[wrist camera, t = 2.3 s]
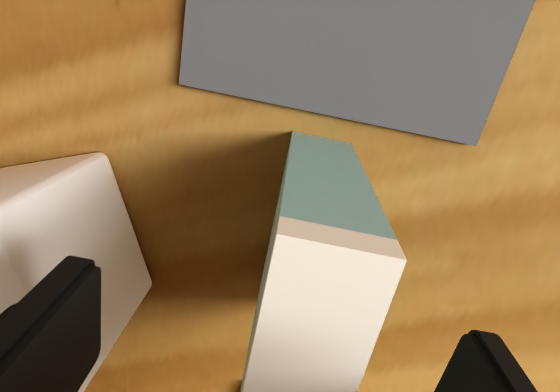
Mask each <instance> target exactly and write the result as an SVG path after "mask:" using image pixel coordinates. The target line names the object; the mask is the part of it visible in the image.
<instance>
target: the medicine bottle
mask: <svg viewBox="0 0 560 392" xmlns="http://www.w3.org/2000/svg"><path fill="white" fill-rule="evenodd" d="M70 255H71V256H76V257H82V258H87V259H92V260H94V262H95V266H97V267H100V268H101V350H100V354H99V357H98V359H97V361H96V363H95V365H94V366H93V368H92V369H91V371H90V373H89V374H88V376H87V378H86V379H85V381H84V382H83V384H82V386H81V387H80V389H79V390H78V392H84V390H85V389H86V387H87V386H88V384H89V383H90V381H91V380H92V378H93V376H94V375H95V373H96V372H97V370H98V369H99V367H100V366H101V364H102V362H103V361H104V359H105V358H106V356H107V355H108V353H109V352H110V350H111V348H112V347H113V345H114V344H115V342H116V341H117V339H118V338H119V336H120V334H121V333H122V331H123V330H124V328H125V327H126V325H127V324H128V322H129V320H130V319H131V317H132V316H133V314H134V313H135V311H136V310H137V308H138V306H139V305H140V303H141V302H142V300H143V299H144V297H145V296H146V294H147V292H148V291H149V289H150V288H151V286H152V281H151V278H150V275H149V272H148V269H147V266H146V264H145V261H144V258H143V255H142V252H141V249H140V247H139V244H138V241H137V238H136V235H135V232H134V229H133V227H132V224H131V221H130V218H129V215H128V212H127V210H126V207H125V204H124V201H123V198H122V195H121V192H120V190H119V187H118V184H117V181H116V178H115V175H114V173H113V170H112V167H111V164H110V161H109V158H108V157H107V155H106V154H104V153H101V152H95V153H89V154H83V155H77V156H71V157H65V158H59V159H53V160H46V161H40V162H34V163H28V164H22V165H16V166H10V167H4V168H0V314H1V313H2V312H3V311H4V310H6V309H7V308H8V307H10V306H11V305H13V304H16V303H18V302H19V301H20V300H21V299H22V298H23V297H24V296H25V295H26V294H27V293H28V292H29V291H30V290H31V289H33V288H34V287H35V286H36V285H37V284H38V283H39V282H40V281H41V280H42V279H43V278H44V277H45V276H46V275H47V274H48V273H49V272H50V271H52V270H53V269H54V268H55V267H56V266H57V265H58V264H59V263H60V262H61V261H62V260H63V259H64V258H66V257H67V256H70Z"/></svg>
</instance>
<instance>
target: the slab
mask: <svg viewBox="0 0 560 392" xmlns="http://www.w3.org/2000/svg"><path fill="white" fill-rule="evenodd" d="M406 261H407V260H406V257H405V255H404V253H403V251H402V249H401V247H400V245H399V243H398V241H397V239H396V236H395V234H394V232H393V230H392V228H391V226H390V224H389V222H388V220H387V217H386V215H385V213H384V211H383V209H382V207H381V205H380V203H379V201H378V199H377V196H376V194H375V192H374V190H373V188H372V186H371V184H370V182H369V180H368V177H367V175H366V173H365V171H364V169H363V167H362V165H361V163H360V161H359V159H358V156H357V154H356V152H355V150H354V148H353V146H352V144H351V143H347V142H343V141H338V140H333V139H328V138H323V137H318V136H314V135H309V134H304V133H299V132H294V131H292V136H291V140H290V145H289V150H288V155H287V160H286V164H285V169H284V174H283V179H282V184H281V188H280V193H279V198H278V203H277V208H276V212H275V217H274V222H273V227H272V231H271V236H270V241H269V246H268V251H267V255H266V260H265V265H264V270H263V275H262V279H261V284H260V289H259V294H258V300H257V305H256V310H255V316H254V321H253V326H252V331H251V337H250V342H249V347H248V353H247V358H246V363H245V369H244V374H243V379H242V384H241V390H240V392H357V391H358V388H359V386H360V383H361V380H362V378H363V375H364V372H365V370H366V367H367V365H368V362H369V359H370V357H371V354H372V351H373V349H374V346H375V343H376V341H377V338H378V335H379V333H380V330H381V327H382V325H383V322H384V319H385V317H386V314H387V311H388V309H389V306H390V304H391V301H392V298H393V296H394V293H395V290H396V288H397V285H398V282H399V280H400V277H401V274H402V272H403V269H404V266H405V264H406Z"/></svg>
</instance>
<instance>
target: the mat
mask: <svg viewBox="0 0 560 392" xmlns="http://www.w3.org/2000/svg"><path fill="white" fill-rule="evenodd" d="M534 2H535V0H186V7H185V19H184V30H183V42H182V53H181V64H180V76H179V84H180V85H185V86H190V87H194V88H199V89H204V90H209V91H214V92H218V93H223V94H228V95H233V96H238V97H243V98H247V99H252V100H257V101H262V102H267V103H271V104H276V105H281V106H286V107H291V108H295V109H300V110H305V111H310V112H315V113H320V114H324V115H329V116H334V117H339V118H344V119H348V120H353V121H358V122H363V123H368V124H372V125H377V126H382V127H387V128H392V129H396V130H401V131H406V132H411V133H416V134H421V135H425V136H430V137H435V138H440V139H445V140H449V141H454V142H459V143H464V144H469V145H473V146H476V145H477V143H478V140H479V138H480V135H481V133H482V130H483V128H484V126H485V123H486V121H487V118H488V116H489V113H490V111H491V108H492V106H493V103H494V101H495V98H496V96H497V93H498V91H499V88H500V86H501V84H502V81H503V79H504V76H505V74H506V71H507V69H508V66H509V64H510V61H511V59H512V56H513V54H514V51H515V49H516V47H517V44H518V42H519V39H520V37H521V34H522V32H523V29H524V27H525V24H526V22H527V19H528V17H529V14H530V12H531V9H532V7H533V5H534Z"/></svg>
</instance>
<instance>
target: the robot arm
mask: <svg viewBox="0 0 560 392" xmlns="http://www.w3.org/2000/svg"><path fill="white" fill-rule="evenodd" d="M100 350H101V268H100V267H97V266H95V262H94V260H92V259H87V258H82V257H76V256H71V255H70V256H67V257H66V258H64V259H63V260H62V261H61V262H60V263H59V264H58V265H57V266H56V267H55V268H54V269H53V270H52V271H50V272H49V273H48V274H47V275H46V276H45V277H44V278H43V279H42V280H41V281H40V282H39V283H38V284H37V285H36V286H35V287H34V288H33V289H31V290H30V291H29V292H28V293H27V294H26V295H25V296H24V297H23V298H22V299H21V300H20V301H19V302H18V303H16V304H13V305H11V306H10V307H8V308H7V309H6V310H4V311H3V312H2V313H1V314H0V392H78V390H79V389H80V387H81V386H82V384H83V382H84V381H85V379H86V378H87V376H88V374H89V373H90V371H91V369H92V368H93V366H94V365H95V363H96V361H97V359H98V357H99V354H100ZM434 392H537V390H536V389H535V387H534V386H533V384H532V383H531V381H530V380H529V379H528V377H527V376H526V374H525V373H524V371H523V370H522V368H521V367H520V365H519V364H518V362H517V361H516V360H515V358H514V357H513V355H512V354H511V352H510V351H509V349H508V348H507V346H506V345H505V343H504V342H503V340H502V339H501V338H500V337H499V336H498V335H497V334H495V333H489V332H484V331H478V330H471V331H470V332H469V333H468V334H464V335H463V336H462V337H461V339H460V341H459V343H458V345H457V347H456V349H455V351H454V353H453V355H452V357H451V359H450V361H449V363H448V365H447V367H446V369H445V371H444V373H443V375H442V377H441V379H440V381H439V383H438V385H437V387H436V389H435V391H434Z"/></svg>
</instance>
